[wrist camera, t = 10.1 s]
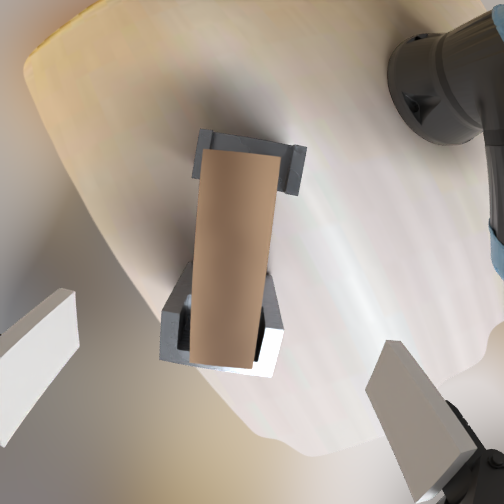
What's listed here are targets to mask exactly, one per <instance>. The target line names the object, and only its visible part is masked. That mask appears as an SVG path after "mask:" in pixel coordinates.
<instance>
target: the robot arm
mask: <svg viewBox="0 0 504 504" xmlns="http://www.w3.org/2000/svg"><path fill="white" fill-rule="evenodd" d="M388 84H389V89H390V93H391V96H392V99H393V102H394V104H395V106H396V108H397V110H398V112H399V114H400V115H401V117H402V118H403V120H404V121H405V122H406V123H407V125H408V126H409V127H410V128H411V129H412V130H413V131H414V132H415V133H417V134H418V135H419V136H421V137H422V138H424V139H425V140H427V141H429V142H432V143H435V144H438V145H459V144H463V143H466V142H468V141H470V140H471V139H473V138H474V137H475V136H477V135H479V134H480V133H482V132H483V134H484V141H485V150H486V159H487V168H488V180H489V196H490V218H489V231H490V238H491V260H492V264H493V266H494V268H495V270H496V272H497V273H498V274H499V275H500V277H501V279H502V280H503V281H504V5H501V4H500V5H496V6H495V7H493V9H492V10H490V11H488V12H486V13H484V14H482V15H480V16H478V17H476V18H474V19H472V20H470V21H469V22H467V23H465V24H463V25H461V26H459V27H457V28H455V29H454V30H452V31H450V32H448V33H429V34H419V35H415V36H413V37H411V38H409V39H407V40H406V41H404V42H403V43H401V44H400V45H399V46H398V47H397V48H396V49H395V51H394V52H393V54H392V56H391V58H390V61H389V66H388ZM78 348H79V336H78V326H77V314H76V299H75V291H72V290H68V289H64V288H59V289H58V290H57V291H55V292H54V293H53V294H51V295H50V296H49V297H48V298H46V299H45V300H44V301H43V302H41V303H40V304H39V305H38V306H36V307H35V308H34V309H33V310H31V311H30V312H29V313H28V314H26V315H25V316H24V317H23V318H21V319H20V320H19V321H18V322H16V323H15V324H14V325H13V326H12V327H10V328H9V329H8V330H7V331H6V332H5V333H3V334H2V335H1V334H0V445H1V446H2V447H5V446H6V444H7V443H8V441H9V440H10V438H11V437H12V435H13V434H14V432H15V431H16V430H17V428H18V427H19V425H20V424H21V422H22V421H23V420H24V418H25V417H26V416H27V414H28V413H29V411H30V410H31V409H32V407H33V406H34V404H35V403H36V402H37V400H38V399H39V398H40V396H41V395H42V394H43V392H44V391H45V390H46V388H47V387H48V386H49V384H50V383H51V382H52V381H53V379H54V378H55V377H56V375H57V374H58V373H59V372H60V370H61V369H62V368H63V366H64V365H65V364H66V363H67V361H68V360H69V359H70V357H71V356H72V355H73V354H74V353H75V351H76V350H77V349H78ZM365 391H366V393H367V395H368V397H369V399H370V401H371V404H372V406H373V408H374V410H375V412H376V414H377V417H378V419H379V421H380V423H381V425H382V428H383V430H384V432H385V434H386V437H387V439H388V441H389V443H390V445H391V447H392V450H393V452H394V455H395V457H396V459H397V462H398V464H399V466H400V469H401V471H402V473H403V476H404V478H405V480H406V482H407V485H408V487H409V490H410V492H411V495H412V497H413V499H414V502H415V503H420V502H423V501H427V500H431V499H433V498H434V497H435V496H436V495H437V494H438V493H439V492H440V491H441V490H443V492H444V494H445V495H444V496H443V498H441V499H440V500H439V501H438V502H437V503H436V504H504V454H503V453H502V452H499V451H498V450H495V449H489V450H486V449H485V448H484V446H483V445H482V443H481V442H480V440H479V439H478V437H477V436H476V434H475V433H474V432H473V430H472V429H471V427H470V426H468V423H467V421H466V420H465V419H464V418H463V416H462V415H461V413H460V412H459V410H458V409H457V408H456V407H455V406H454V405H453V404H451V403H450V402H449V401H447V400H444V398H443V397H442V396H441V394H440V393H439V392H438V390H437V389H436V387H435V386H434V385H433V383H432V382H431V381H430V379H429V378H428V376H427V375H426V374H425V372H424V371H423V370H422V368H421V367H420V366H419V364H418V363H417V362H416V360H415V359H414V358H413V356H412V355H411V354H410V353H409V351H408V350H407V349H406V347H405V346H404V345H403V343H402V342H401V341H391V340H386V342H385V344H384V347H383V349H382V352H381V354H380V357H379V359H378V362H377V364H376V366H375V369H374V371H373V373H372V375H371V378H370V380H369V382H368V384H367V387H366V389H365Z"/></svg>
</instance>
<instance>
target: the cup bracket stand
mask: <svg viewBox="0 0 504 504" xmlns="http://www.w3.org/2000/svg"><path fill="white" fill-rule="evenodd" d="M203 149H211V150H222V151H233V152H243V153H252V154H261V155H269V156H277V157H281V160H280V169H279V177H278V185H277V191H281V192H284V193H285V194H290V195H295V196H298V193H299V188H300V182H301V177H302V172H303V167H304V161H305V156H306V151H307V147H304V146H300V145H287V144H282V143H277V142H271V141H266V140H260V139H255V138H249V137H243V136H237V135H230V134H224V133H217V132H214V131H213V130H207V129H200V132H199V137H198V143H197V149H196V155H195V161H194V167H193V173H192V178H195V179H200V173H201V163H202V154H203ZM192 278H193V263H191V262H188V264H187V266H186V267H185V269H184V271H183V273H182V275H181V276H180V278H179V280H178V282H177V284H176V285H175V287H174V289H173V291H172V293H171V294H170V296H169V298H168V300H167V302H166V304H165V305H164V307H163V309H162V314H161V332H160V356H159V357H160V360H163V361H168V362H173V363H178V364H183V365H189V366H195V367H200V368H206V369H212V370H219V371H225V372H232V373H240V374H247V375H255V376H264V377H272V374H273V370H274V366H275V363H276V359H277V355H278V351H279V347H280V344H281V340H282V336H283V332H284V328H283V323H282V319H281V314H280V310H279V305H278V301H277V296H276V292H275V287H274V283H273V278H272V276H271V275H266V277H265V285H264V292H263V299H262V307H261V314H260V321H259V328H258V335H257V342H256V349H255V356H254V363H253V369H243V368H232V367H222V366H212V365H204V364H195V363H190V324H191V299H192Z"/></svg>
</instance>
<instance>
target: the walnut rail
mask: <svg viewBox="0 0 504 504" xmlns="http://www.w3.org/2000/svg"><path fill="white" fill-rule="evenodd" d="M280 160H281V157H277V156H269V155H261V154H252V153H243V152H233V151H222V150H211V149H203V154H202V163H201V173H200V184H199V194H198V206H197V218H196V231H195V245H194V261H193V278H192V299H191V324H190V363H195V364H204V365H212V366H222V367H232V368H243V369H253V363H254V356H255V349H256V342H257V335H258V328H259V321H260V314H261V307H262V299H263V292H264V285H265V277H266V270H267V263H268V255H269V248H270V240H271V232H272V224H273V217H274V209H275V201H276V193H277V185H278V177H279V169H280Z"/></svg>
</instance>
